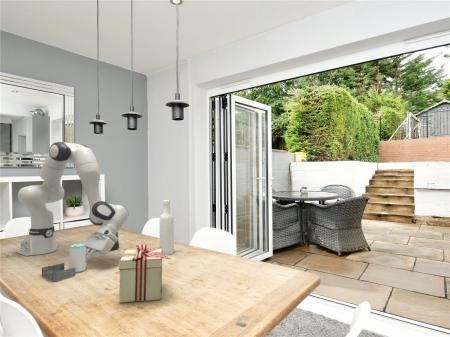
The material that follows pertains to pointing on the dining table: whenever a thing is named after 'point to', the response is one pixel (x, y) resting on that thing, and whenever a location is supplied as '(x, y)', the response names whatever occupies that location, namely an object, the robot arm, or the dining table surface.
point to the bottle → (167, 230)
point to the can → (77, 257)
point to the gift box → (141, 274)
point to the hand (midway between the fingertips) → (86, 258)
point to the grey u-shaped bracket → (57, 272)
